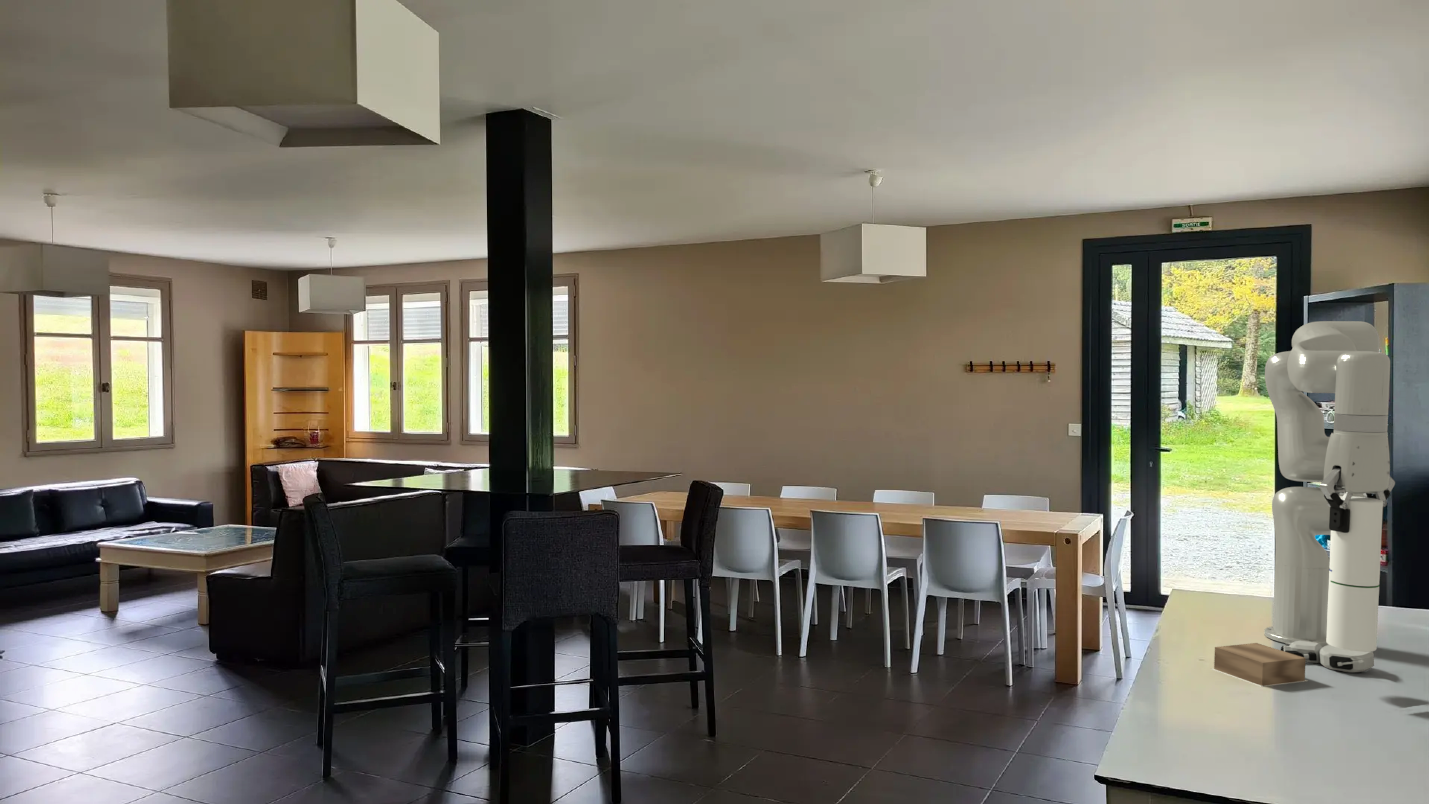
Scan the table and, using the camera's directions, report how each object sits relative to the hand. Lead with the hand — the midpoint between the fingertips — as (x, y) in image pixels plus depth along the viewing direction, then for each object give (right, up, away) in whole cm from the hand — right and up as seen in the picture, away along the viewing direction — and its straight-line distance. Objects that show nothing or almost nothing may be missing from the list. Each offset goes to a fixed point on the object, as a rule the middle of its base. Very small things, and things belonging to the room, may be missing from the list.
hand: (1355, 529), depth 164 cm
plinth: (-11, -27, +9) cm, 31 cm away
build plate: (-11, -28, +9) cm, 32 cm away
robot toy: (+6, -28, +18) cm, 34 cm away
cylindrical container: (0, -20, +1) cm, 20 cm away
